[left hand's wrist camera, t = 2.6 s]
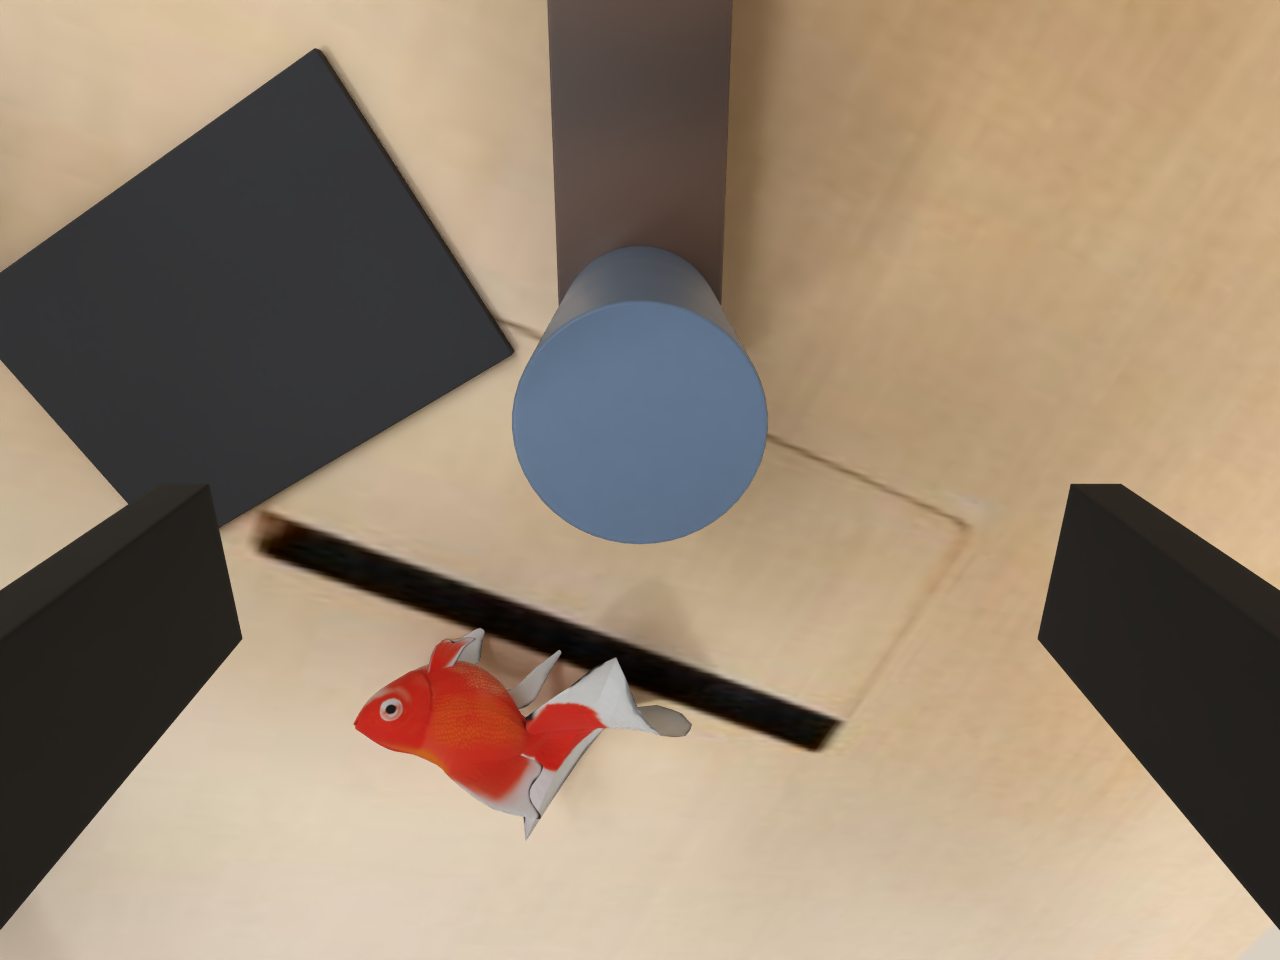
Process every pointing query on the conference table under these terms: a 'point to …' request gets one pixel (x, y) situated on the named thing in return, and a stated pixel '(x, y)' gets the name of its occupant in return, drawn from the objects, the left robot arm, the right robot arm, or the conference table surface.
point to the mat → (246, 303)
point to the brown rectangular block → (639, 129)
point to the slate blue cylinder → (639, 403)
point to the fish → (504, 724)
